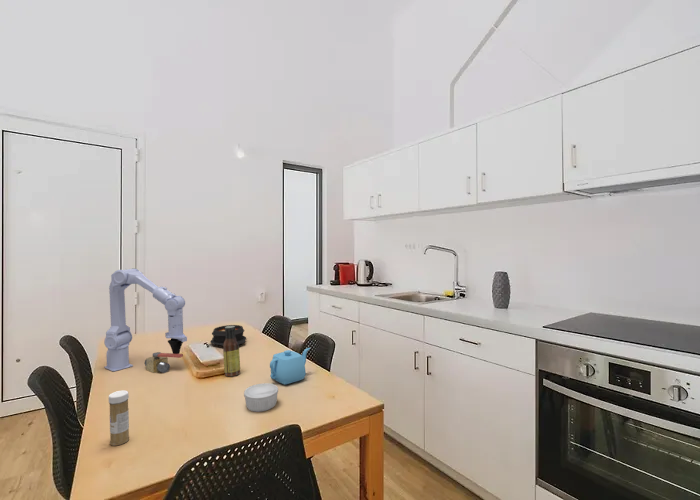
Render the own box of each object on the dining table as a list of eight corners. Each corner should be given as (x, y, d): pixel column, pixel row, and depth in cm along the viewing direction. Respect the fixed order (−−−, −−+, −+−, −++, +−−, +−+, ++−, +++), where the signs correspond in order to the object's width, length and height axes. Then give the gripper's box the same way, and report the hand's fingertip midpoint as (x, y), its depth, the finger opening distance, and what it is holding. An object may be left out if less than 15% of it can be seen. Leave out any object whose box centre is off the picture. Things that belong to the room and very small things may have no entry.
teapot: (318, 377, 140) (318, 348, 139) (278, 390, 128) (277, 359, 128) (302, 369, 149) (301, 342, 149) (263, 380, 138) (262, 351, 138)
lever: (156, 354, 154) (156, 352, 154) (183, 355, 151) (183, 353, 151) (150, 356, 150) (150, 354, 150) (178, 358, 148) (178, 355, 148)
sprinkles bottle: (107, 442, 96) (106, 393, 95) (126, 435, 99) (125, 388, 99) (113, 448, 93) (111, 398, 92) (132, 441, 96) (130, 392, 96)
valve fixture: (142, 368, 153) (141, 355, 153) (156, 364, 158) (155, 352, 158) (158, 374, 145) (157, 361, 145) (172, 370, 150) (172, 357, 150)
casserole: (253, 345, 186) (253, 329, 186) (217, 352, 175) (217, 335, 175) (238, 335, 206) (237, 321, 206) (204, 341, 195) (204, 326, 195)
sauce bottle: (243, 372, 146) (242, 325, 146) (233, 378, 140) (232, 328, 140) (230, 370, 148) (229, 324, 148) (220, 376, 142) (219, 327, 142)
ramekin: (261, 417, 108) (260, 400, 108) (236, 408, 114) (236, 392, 114) (285, 402, 118) (285, 387, 118) (262, 395, 124) (261, 380, 124)
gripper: (158, 324, 153) (158, 355, 153) (175, 328, 145) (176, 361, 145) (174, 321, 159) (174, 350, 159) (191, 325, 150) (192, 356, 151)
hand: (176, 355), depth 152 cm, fingers closed, pressing on lever
